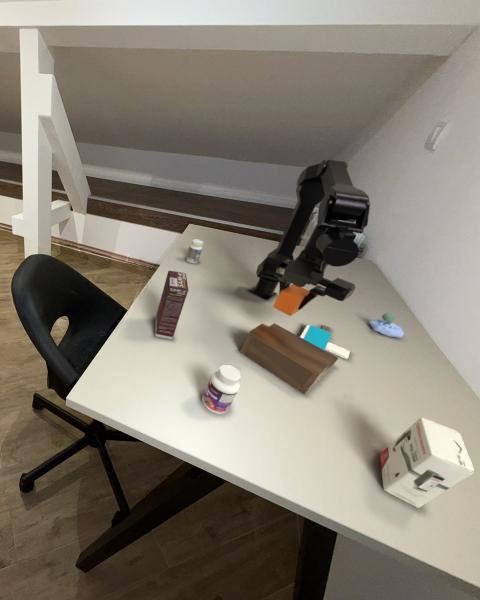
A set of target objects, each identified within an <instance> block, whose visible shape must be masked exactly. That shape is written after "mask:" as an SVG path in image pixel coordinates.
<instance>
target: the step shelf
mask: <svg viewBox="0 0 480 600" xmlns="http://www.w3.org/2000/svg"><path fill="white" fill-rule="evenodd" d="M297 335H298V334H296V333H294V332H291V331H290V330H289V329H288V330H287V329H286V328H284V327H282V326H280V324H279V325H278V323H272V324H270V325H269V326H267V325H266V324H264V323H260V324H259V325H258V326H256V327H254V328H252V329H250V330H249V332H248V335H247V336H246V338H245V340H244V342H243V344H242V347H241V349H240V350H239V353H240V354H242V355H243V356H245V357H247V358H248V359H250V360H252V361H253V362H254V363H256V364H257V365H259V366H261V367H262V368H264V369H265V370H267V372H270V374H273V375H274V376H276V377H277V378H279V379H280V380H282V381H284V382H285V383H287V384H288V385H290V386H291V387H293V388H294V389H295V390H297V391H299V392H300V393H302V394H304V395H306V394H307V393H308V392H309V391H310V390H311V389H312V388H313V387H314V386H315V385H316V384H317V383H318V382H319V381H320V380H321V379H322V378H323V377H324V376H325V375H326V374H327V372H329V371H330V370H331V368H333V366H334V365H335V363H336V362H337V361H338V360H339V357H338V356H337V355H335V354H333V353H331V352H329V351H327V350H323V349H321V348H319V347H317V346H315V345H314V344H312V343H310V342H308V341H306V340H304V339H303V338H301V337H299V336H297Z"/></svg>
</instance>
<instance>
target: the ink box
mask: <svg viewBox="0 0 480 600" xmlns="http://www.w3.org/2000/svg"><path fill="white" fill-rule="evenodd" d="M379 463H380V470H381V478H382V485H383V486H382V487H383V491H385V492H387V493H388V494H390V495H392V496H394V497H396V498H397V499H400V500H402V501H403V502H406V503H407V504H409V505H410V506H411V505H412V506H413V507H415V508H418V509H419V508H422V507H423V506H424V505H425V504H427V503H429V502H430V501H432V500H433V499H435V498H436V497H438V496H440V495H442V493H444V492H446V491H447V490H449V489H451V488H453V487H454V486H456V485H457V484H459V483H461V482H462V481H464V480H465V479H466V478H468V477H470V476H471V475H473V474H474V471H475V468H474V466H473V463H472V460H471V458H470V456H469V452H468V450H467V448H466V445H465V442H464V439H463V437H462V434H461V433H460V432H458V431H457V430H454V429H453V428H451V427H448V426H446V425H443V424H440V423H438V422H436V421H433V420H430V419H428V418H425V417H422V416H421V417H419V419H417V420H416V421H415V422H414V423H413V424H411V425H410V427H408V428H407V429H406V430H405V431H404V432H403V433H401V434H400V435H399V436H398V437H396V439H394V440H393V441H392V442H391V443H390V444H388V446H386V447H385V448H384V449H383V450H382V451H380V452H379Z"/></svg>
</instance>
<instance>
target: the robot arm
mask: <svg viewBox="0 0 480 600" xmlns="http://www.w3.org/2000/svg"><path fill="white" fill-rule="evenodd" d="M348 166H349V163H348V162H346V161H345V160H338V159H331V158H330V159H329V158H327V159H323V160H322V161H321V162H320V163H316V164H312V165H309V166H307V167H306V168H305V169H304V170H303V171H301V173H300V174H299V176H298V178H297V181H296V188H295V194H296V198H297V202H296V204H295V207H294V209H293V211H292V212H291V215H290V217H289V219H288V222H287V224H286V226H285V229H284V231H283V232H282V233H283V234H282V236H281V237H280V240H279V243H278V244H277V247H276V248H274V249H273V250H272V251H271V252H269V253H268V254H267V255H266V257H265V258H264V259H263V260H262V261H261V262H260V263H259V264H258V265H257V268H256V270H255V274H256V277H257V278H258V280H257V282H256V284H255V286H254V287H252V288H250V289H249V292H251V293H253V294H255V295H256V296H258V297H261V298H263V299H264V300H266V301H267V300H268V301H269V300H270V299H272V298H274V297H275V296H277V294H278V295H279V294H280V292H281V291H282V290H283V289H285V288H287V287H289V286H291V285H293V284H295V286H297V287H302V288H304V287H305V286H306V285H309V286H310V285H312V286H314V287H312V288H311V289H309V294H308V295H307V296H306V298H305V299H304V300H303V302H302V303H301V304H300V306H299V308H298V309H299V311H301V310H302V309H304V308H305V306H307V305H308V304H309V303H311V301H313V300H314V299H316V298H317V297H318V296H319V297H329V298H331V299H333V300H336V301H338V302H339V301H340V302H344V301H345V300H346V299H348V298H350V297H351V296H352V295H353V293H354V292H355V290H356V285H355V283H352V282H350V281H347V280H345V279H343V278H339V277H336V278H334V279H333V280H331V279H329V278H326V277H325V272H326V269H327V267H328V266H331V267H338V268H339V267H344V266H347V265H350V264H351V263H353V262H354V261H355V260H356V259H357V258H358V256H359V251H360V249H359V246H358V244H357V243H356V242H355V239H356V237H357V234H363V233H364V230H365V228H366V227H367V226H368V222H369V217H370V209H371V208H370V207H371V202H370V197H369V195H368V194H367V193H366V192H365V191H364V190H362V189H360V188H357V187H355V186H354V185H353V184H354V183H353V181H352V179H351V176H350V174H349V171H348ZM318 204H319V206H318V211H317V220H316V225H315V227H314V229H313V231H312V232H311V235H310V236H309V237H308V238H309V239H308V241H307V242H306V244H305V246H304V247H303V250H301V251H300V253H299V255H298V256H297V257H296V258H294V252H295V250H296V248H297V246H298V244H299V242H300V240H301V237H302V235H303V233H304V231H305V229H306V226H307V225H308V222H309V221H310V218H311V216H312V214H313V212H314V210H315V209H316V206H317V205H318ZM278 285H279V290H278V291H279V292H278V293H277V292H276V289H277V287H278ZM300 309H301V310H300Z"/></svg>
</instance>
